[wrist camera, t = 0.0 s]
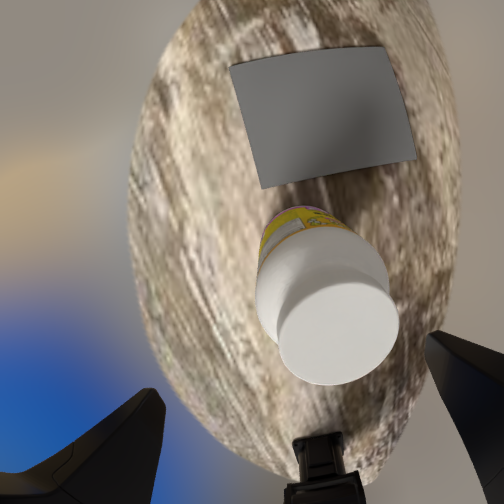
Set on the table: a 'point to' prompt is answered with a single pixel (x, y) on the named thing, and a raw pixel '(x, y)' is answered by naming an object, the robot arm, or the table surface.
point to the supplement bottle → (324, 297)
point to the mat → (322, 113)
